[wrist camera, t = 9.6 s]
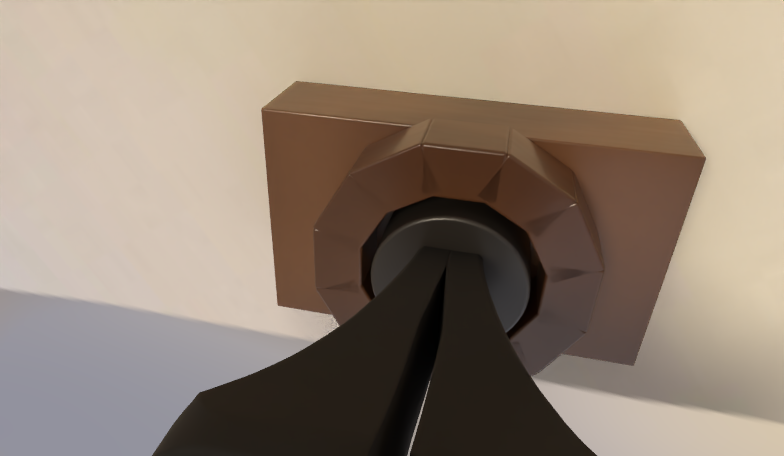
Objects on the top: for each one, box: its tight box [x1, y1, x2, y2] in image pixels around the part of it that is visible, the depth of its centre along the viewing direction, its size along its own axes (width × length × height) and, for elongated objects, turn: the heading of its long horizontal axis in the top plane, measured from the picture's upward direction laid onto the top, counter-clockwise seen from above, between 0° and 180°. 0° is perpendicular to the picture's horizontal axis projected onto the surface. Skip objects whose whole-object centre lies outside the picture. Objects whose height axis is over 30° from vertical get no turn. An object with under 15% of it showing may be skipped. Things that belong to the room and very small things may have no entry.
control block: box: [262, 81, 706, 380], centre depth 15 cm, size 10×6×4 cm, turn 88°
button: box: [371, 196, 531, 332], centre depth 13 cm, size 4×4×2 cm
